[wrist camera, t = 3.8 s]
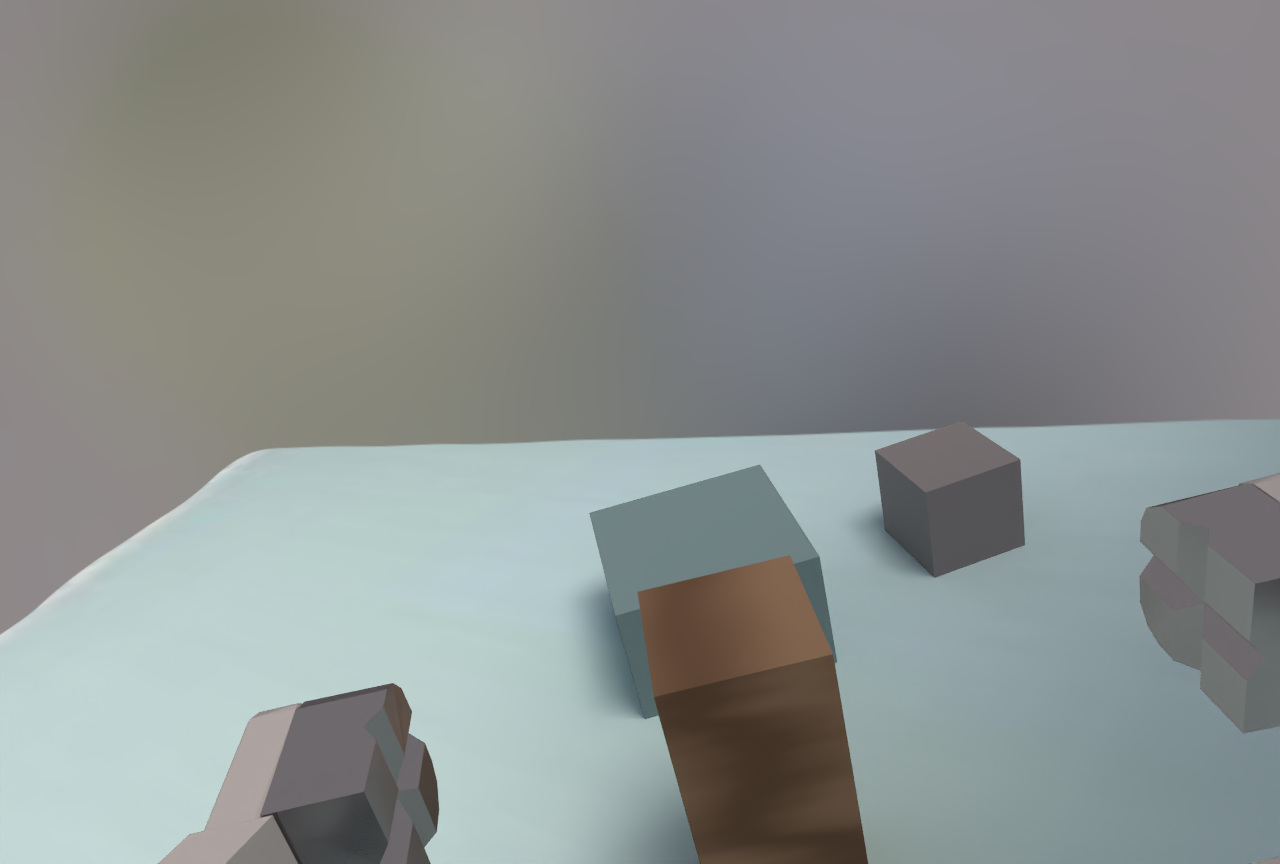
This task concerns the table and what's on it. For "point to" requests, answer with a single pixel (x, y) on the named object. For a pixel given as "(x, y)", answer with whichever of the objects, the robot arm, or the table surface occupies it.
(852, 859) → the walnut block
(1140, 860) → the table surface
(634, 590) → the teal base block
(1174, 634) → the robot arm
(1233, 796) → the table surface
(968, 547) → the charcoal cube
